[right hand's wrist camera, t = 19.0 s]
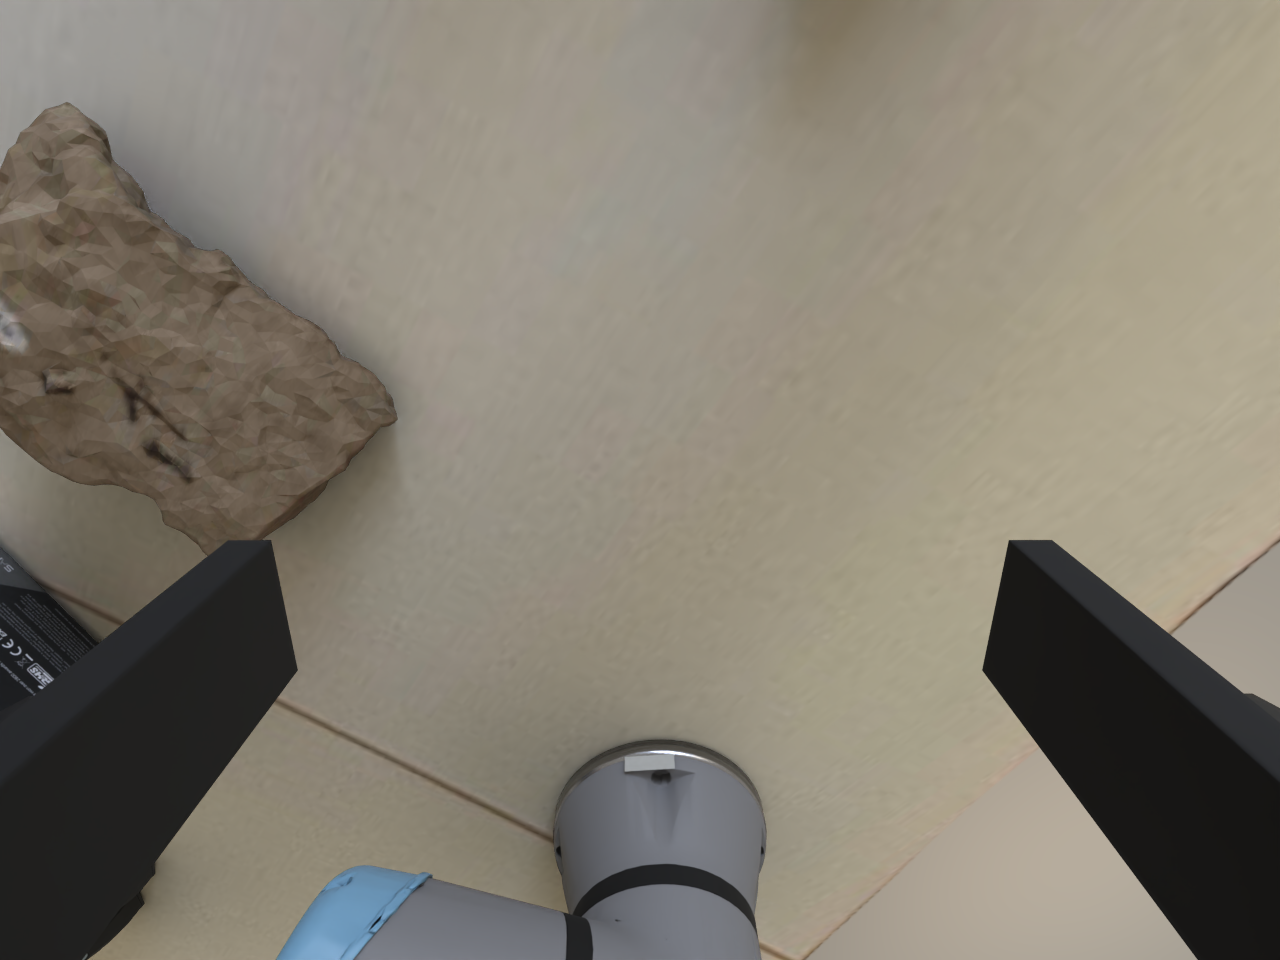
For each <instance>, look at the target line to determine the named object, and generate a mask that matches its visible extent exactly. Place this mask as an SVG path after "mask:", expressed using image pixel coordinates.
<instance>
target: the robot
mask: <svg viewBox="0 0 1280 960" xmlns="http://www.w3.org/2000/svg"><path fill="white" fill-rule="evenodd" d="M154 874H155V866H154V864H153V865H152V867H151V868H150V869H149V871H148V872H147V873H146V875H145V876H144V877H143V879H142V880H141V881H140V883H139V884H138V885H137V887H136V888H135V890H134V891H133V892H132V894H131V895H130V896H129V898H128V899H127V900H126V902H125V903H124V904H123V906H122V907H121V908H120V910H119V911H118V912H117V914H116V915H115V916H114V918H113V919H112V920H111V922H110V923H109V924H108V926H107V927H106V928H105V930H104V931H103V933H102V934H101V935H100V937H99V938H98V939H97V941H96V942H95V943H94V945H93V946H92V947H91V949H90V950H89V951H88V953H87V954H86V955H85V957H84V958H83V959H82V960H87V959H89V958H90V957H91V956H93V955H94V954H95V953H97V952H98V951H99V950H100V949H102V948H103V947H104V946H105V945H106V944H108V943H109V942H110V941H111V940H112V939H113V938H114V937H115V936H116V935H117V934H118V933H119V932H120V931H121V930H122V929H123V928H124V927H125V926H126V925H127V924H128V923H129V922H130V921H131V919H132V917H133V916H134V915H135V914H136V913H137V912H138V910H139V909H140V908H141V907H142V906H143V905H144V901H143V899H142V897H141V895H140V894H139V892H140V891H141V890H142V889H143V887H144V886H145V885H146V883H147V882H148V881H149V880H150V878H151V877H152V876H154Z"/></svg>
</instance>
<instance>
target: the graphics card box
mask: <svg viewBox="0 0 1280 960" xmlns="http://www.w3.org/2000/svg"><path fill="white" fill-rule="evenodd" d="M96 645H98V643H97V642H96V641H95V640H94V639H93V638H92V637H91V636H90V635H89V634H88V633H87V632H86V631H85V630H84V629H83V628H82V627H81V626H80V625H79V624H78V623H77V622H76V621H75V620H74V619H73V618H72V617H71V616H70V615H68V614H67V613H66V612H65V611H64V610H63V608H62V607H61V606H60V605H58V604H57V602H56V601H55V600H54V599H52V598H51V597H50V596H49V595H48V594H47V593H46V592H45V590H44V589H42V587H41V586H39V585H38V584H37V583H36V582H35V581H34V580H33V579H32V578H31V577H30V576H29V575H28V574H27V573H26V572H25V571H24V570H23V569H22V568H21V567H20V566H19V565H18V564H17V563H16V562H15V561H14V560H13V559H12V558H11V557H10V556H9V555H8V554H7V553H6V552H4V551H3V550H2V548H1V547H0V711H2V710H3V709H5V708H7V707H9V706H11V705H13V704H15V703H17V702H19V701H20V700H22V699H24V698H26V697H28V696H34V695H35V694H37V693H38V692H39V691H40V690H42V689H43V688H44V687H45V686H47V685H48V684H49V683H50V682H52V681H53V680H54V679H55V678H57V677H58V676H59V675H60V674H61V673H63V672H64V671H65V670H66V669H68V668H69V667H70V666H71V665H73V664H74V663H75V662H76V661H78V660H79V659H80V658H81V657H83V656H84V655H85V654H86V653H88V652H89V651H90V650H91V649H93V648H94V647H95V646H96Z"/></svg>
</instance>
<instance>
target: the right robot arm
mask: <svg viewBox="0 0 1280 960" xmlns="http://www.w3.org/2000/svg"><path fill="white" fill-rule="evenodd" d="M297 671H298V669H297V665H296V660H295V655H294V650H293V645H292V640H291V635H290V630H289V625H288V621H287V616H286V611H285V606H284V601H283V596H282V591H281V586H280V582H279V577H278V572H277V567H276V562H275V557H274V552H273V547H272V543H271V540H228V541H226V542H225V543H224V544H223V545H221V546H220V547H219V548H218V549H216V550H215V551H214V552H213V553H211V554H210V555H209V556H208V557H206V558H205V559H204V560H203V561H201V562H200V563H199V564H198V565H196V566H195V567H194V568H193V569H191V570H190V571H189V572H188V573H186V574H185V575H184V576H183V577H181V578H180V579H179V580H178V581H176V582H175V583H174V584H173V585H171V586H170V587H169V588H168V589H166V590H165V591H164V592H163V593H161V594H160V595H159V596H158V597H156V598H155V599H154V600H153V601H151V602H150V603H149V604H148V605H146V606H145V607H144V608H143V609H141V610H140V611H139V612H138V613H136V614H135V615H134V616H133V617H131V618H130V619H129V620H128V621H126V622H125V623H124V624H123V625H121V626H120V627H119V628H118V629H116V630H115V631H114V632H113V633H111V634H110V635H109V636H108V637H106V638H105V639H104V640H103V641H101V642H100V643H99V644H98V645H96V646H95V647H94V648H93V649H91V650H90V651H89V652H88V653H86V654H85V655H84V656H83V657H81V658H80V659H79V660H78V661H76V662H75V663H74V664H73V665H71V666H70V667H69V668H68V669H66V670H65V671H64V672H63V673H61V674H60V675H59V676H58V677H57V678H55V679H54V680H53V681H52V682H50V683H49V684H48V685H47V686H45V687H44V688H43V689H42V690H40V691H39V692H38V693H37V694H35V695H34V696H28V697H26V698H24V699H22V700H20V701H19V702H17V703H15V704H13V705H11V706H9V707H7V708H5V709H3V710H2V711H0V960H82V959H83V958H84V957H85V955H86V954H87V953H88V951H89V950H90V949H91V947H92V946H93V945H94V943H95V942H96V941H97V939H98V938H99V937H100V935H101V934H102V933H103V931H104V930H105V928H106V927H107V926H108V924H109V923H110V922H111V920H112V919H113V918H114V916H115V915H116V914H117V912H118V911H119V910H120V908H121V907H122V906H123V904H124V903H125V902H126V900H127V899H128V898H129V896H130V895H131V894H132V892H133V891H134V890H135V888H136V887H137V885H138V884H139V883H140V881H141V880H142V879H143V877H144V876H145V875H146V873H147V872H148V871H149V869H150V868H151V867H152V865H153V864H154V863H155V861H156V860H157V859H158V857H159V856H160V855H161V853H162V852H163V851H164V849H165V848H166V847H167V845H168V844H169V842H170V841H171V840H172V838H173V837H174V836H175V834H176V833H177V832H178V830H179V829H180V828H181V826H182V825H183V824H184V822H185V821H186V820H187V818H188V817H189V816H190V814H191V813H192V812H193V810H194V809H195V808H196V806H197V805H198V804H199V802H200V801H201V800H202V798H203V797H204V795H205V794H206V793H207V791H208V790H209V789H210V787H211V786H212V785H213V783H214V782H215V781H216V779H217V778H218V777H219V775H220V774H221V773H222V771H223V770H224V769H225V767H226V766H227V765H228V763H229V762H230V761H231V759H232V758H233V757H234V755H235V754H236V752H237V751H238V750H239V748H240V747H241V746H242V744H243V743H244V742H245V740H246V739H247V738H248V736H249V735H250V734H251V732H252V731H253V730H254V728H255V727H256V726H257V724H258V723H259V722H260V720H261V719H262V718H263V716H264V715H265V714H266V712H267V711H268V709H269V708H270V707H271V705H272V704H273V703H274V701H275V700H276V699H277V697H278V696H279V695H280V693H281V692H282V691H283V689H284V688H285V687H286V685H287V684H288V683H289V681H290V680H291V679H292V677H293V676H294V675H295V673H296V672H297ZM982 671H983V672H984V673H985V675H986V676H987V677H988V679H989V680H990V681H991V683H992V684H993V685H994V687H995V688H996V689H997V691H998V692H999V693H1000V695H1001V696H1002V697H1003V699H1004V700H1005V701H1006V703H1007V704H1008V705H1009V707H1010V708H1011V709H1012V711H1013V712H1014V714H1015V715H1016V716H1017V718H1018V719H1019V720H1020V722H1021V723H1022V724H1023V726H1024V727H1025V728H1026V730H1027V731H1028V732H1029V734H1030V735H1031V736H1032V738H1033V739H1034V740H1035V742H1036V743H1037V744H1038V746H1039V747H1040V748H1041V750H1042V751H1043V752H1044V754H1045V755H1046V756H1047V758H1048V759H1049V761H1050V762H1051V763H1052V765H1053V766H1054V767H1055V769H1056V770H1057V771H1058V773H1059V774H1060V775H1061V777H1062V778H1063V779H1064V781H1065V782H1066V783H1067V785H1068V786H1069V787H1070V789H1071V790H1072V791H1073V793H1074V794H1075V795H1076V797H1077V798H1078V799H1079V801H1080V802H1081V804H1082V805H1083V806H1084V808H1085V809H1086V810H1087V812H1088V813H1089V814H1090V816H1091V817H1092V818H1093V820H1094V821H1095V822H1096V824H1097V825H1098V826H1099V828H1100V829H1101V830H1102V832H1103V833H1104V834H1105V836H1106V837H1107V838H1108V840H1109V841H1110V843H1111V844H1112V845H1113V847H1114V848H1115V849H1116V851H1117V852H1118V853H1119V855H1120V856H1121V857H1122V859H1123V860H1124V861H1125V863H1126V864H1127V865H1128V867H1129V868H1130V869H1131V871H1132V872H1133V873H1134V875H1135V876H1136V877H1137V879H1138V880H1139V881H1140V883H1141V884H1142V885H1143V887H1144V888H1145V889H1146V891H1147V892H1148V894H1149V895H1150V896H1151V898H1152V899H1153V900H1154V902H1155V903H1156V904H1157V906H1158V907H1159V908H1160V910H1161V911H1162V912H1163V914H1164V915H1165V916H1166V918H1167V919H1168V920H1169V922H1170V923H1171V924H1172V926H1173V927H1174V928H1175V930H1176V931H1177V933H1178V934H1179V935H1180V936H1181V938H1182V939H1183V941H1184V942H1185V943H1186V945H1187V946H1188V947H1189V949H1190V950H1191V951H1192V953H1193V954H1194V955H1195V957H1196V958H1197V959H1198V960H1280V708H1278V707H1277V706H1275V705H1273V704H1271V703H1269V702H1267V701H1265V700H1263V699H1261V698H1260V697H1258V696H1256V695H1254V694H1243V693H1242V692H1241V691H1240V690H1238V689H1237V688H1236V687H1235V686H1233V685H1232V684H1231V683H1230V682H1228V681H1227V680H1226V679H1225V678H1223V677H1222V676H1221V675H1220V674H1218V673H1217V672H1216V671H1215V670H1214V669H1212V668H1211V667H1210V666H1209V665H1207V664H1206V663H1205V662H1203V661H1202V660H1201V659H1200V658H1198V657H1197V656H1196V655H1195V654H1193V653H1192V652H1191V651H1190V650H1188V649H1187V648H1186V647H1185V646H1184V645H1182V644H1181V643H1180V642H1179V641H1177V640H1176V639H1175V638H1173V637H1172V636H1171V635H1170V634H1169V633H1167V632H1166V631H1165V630H1164V629H1162V628H1161V627H1160V626H1159V625H1157V624H1156V623H1155V622H1154V621H1152V620H1151V619H1150V618H1149V617H1147V616H1146V615H1145V614H1144V613H1142V612H1141V611H1140V610H1139V609H1137V608H1136V607H1135V606H1134V605H1132V604H1131V603H1130V602H1129V601H1127V600H1126V599H1125V598H1124V597H1122V596H1121V595H1120V594H1119V593H1117V592H1116V591H1115V590H1114V589H1112V588H1111V587H1110V586H1109V585H1107V584H1106V583H1105V582H1104V581H1102V580H1101V579H1100V578H1099V577H1097V576H1096V575H1095V574H1094V573H1092V572H1091V571H1090V570H1089V569H1087V568H1086V567H1085V566H1084V565H1082V564H1081V563H1080V562H1079V561H1077V560H1076V559H1075V558H1074V557H1072V556H1071V555H1070V554H1069V553H1067V552H1066V551H1065V550H1064V549H1062V548H1061V547H1060V546H1059V545H1057V544H1056V543H1055V542H1054V541H1052V540H1009V543H1008V547H1007V552H1006V557H1005V562H1004V567H1003V572H1002V577H1001V582H1000V586H999V591H998V596H997V601H996V606H995V611H994V616H993V621H992V625H991V630H990V635H989V640H988V645H987V650H986V655H985V660H984V665H983V669H982ZM553 841H554V851H555V857H556V861H557V865H558V868H559V871H560V873H561V875H562V884H563V889H564V894H565V899H566V903H567V907H568V911H569V914H567V913H563V912H560V911H556V910H553V909H549V908H545V907H541V906H537V905H533V904H529V903H525V902H522V901H518V900H514V899H510V898H506V897H502V896H498V895H494V894H491V893H487V892H483V891H479V890H475V889H471V888H467V887H463V886H459V885H456V884H452V883H448V882H444V881H440V880H436V879H432V877H433V875H432V874H430V873H426V872H422V873H420V874H418V875H416V874H411V873H406V872H400V871H395V870H390V869H385V868H380V867H375V866H366V865H363V866H356V867H353V868H350V869H348V870H346V871H344V872H342V873H341V874H339V875H337V876H336V877H335V878H334V879H333V880H332V881H330V882H329V883H328V884H327V885H326V886H325V887H324V889H323V890H322V891H321V892H320V893H319V895H318V896H317V897H316V899H315V900H314V901H313V903H312V904H311V905H310V907H309V908H308V910H307V911H306V912H305V914H304V915H303V917H302V918H301V920H300V921H299V923H298V924H297V926H296V927H295V929H294V931H293V932H292V934H291V936H290V937H289V939H288V940H287V942H286V944H285V945H284V947H283V949H282V950H281V952H280V954H279V955H278V957H277V959H276V960H762V959H761V953H760V947H759V942H758V936H757V929H756V923H755V917H754V912H755V907H756V900H757V892H758V877H759V873H760V871H761V868H762V865H763V861H764V857H765V851H766V824H765V819H764V814H763V809H762V805H761V800H760V798H759V795H758V792H757V791H756V789H755V787H754V785H753V783H752V782H751V781H750V779H749V778H748V777H747V775H746V774H745V773H744V772H743V771H742V770H741V769H740V768H739V767H738V766H737V765H735V764H734V763H733V762H731V761H730V760H729V759H727V758H725V757H724V756H722V755H720V754H718V753H716V752H714V751H712V750H710V749H707V748H705V747H702V746H699V745H695V744H692V743H687V742H682V741H674V740H647V741H639V742H634V743H629V744H625V745H622V746H618V747H616V748H613V749H610V750H608V751H606V752H604V753H602V754H600V755H598V756H596V757H595V758H593V759H591V760H590V761H589V762H587V763H586V764H585V765H583V766H582V767H581V768H580V769H579V770H578V771H577V772H576V773H575V774H574V775H573V776H572V777H571V779H570V780H569V781H568V783H567V784H566V786H565V788H564V789H563V791H562V793H561V796H560V798H559V801H558V804H557V809H556V816H555V823H554V830H553Z"/></svg>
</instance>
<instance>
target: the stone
mask: <svg viewBox="0 0 1280 960" xmlns="http://www.w3.org/2000/svg"><path fill="white" fill-rule="evenodd" d="M396 420H397V413H396V411H395V409H394V404H393V399H392V397H391V395H390V394H388V393H387V392H386V389H385V386H384V385H383V384H382V383H381V382H380V381H379V380H378V378H377V377H376V376H375V375H374V374H373V373H372V372H371V371H369V370H367V369H366V368H364V367H363V366H361V365H360V364H359V363H358V362H355V361H353V360H351V359H348V358H346V357H343V356H342V355H340V353H339V351H338V349H337V347H336V345H335V344H334V343H333V342H332V341H331V340H330V339H329V338H328V336H327V335H326V333H325V332H324V330H323V329H322V328H320V327H318V326H317V325H315V324H314V323H312V322H310V321H309V320H307V319H304V318H301V317H299V316H296V315H295V314H293V313H292V312H291V311H289V310H288V309H286V308H285V307H284V306H282V305H280V304H279V303H277V302H276V301H274V300H271V299H270V298H269V297H268V295H267V294H266V293H265V291H264V290H262V289H261V288H259V287H257V286H256V285H254V284H252V283H251V282H250V281H249V280H248V279H247V278H246V276H245V275H244V274H243V273H242V272H241V271H240V270H239V269H238V268H237V267H236V265H235V264H234V263H233V261H232V260H231V258H230V257H229V256H228V255H226V254H225V253H223V252H222V251H220V250H213V251H205V250H202V249H198V248H195V247H194V245H193V244H192V243H191V241H190V240H189V239H188V238H186V237H184V236H183V235H181V234H179V233H177V232H175V231H173V230H172V229H171V228H170V227H169V226H168V225H167V224H166V223H165V221H164V219H162V218H161V217H159V216H158V215H156V214H154V213H152V212H150V210H149V207H148V205H147V202H146V199H145V197H144V193H143V191H142V189H141V188H140V187H139V185H138V184H137V183H136V181H135V180H134V179H133V177H132V176H131V175H130V174H128V173H127V172H126V171H125V170H124V169H122V168H121V167H120V166H119V165H117V164H116V163H115V161H114V160H113V158H112V155H111V150H110V145H109V142H108V138H107V135H106V132H105V131H104V130H103V129H102V128H101V127H100V126H99V125H98V124H97V123H95V122H94V121H92V120H91V119H89V118H88V117H86V116H85V115H83V114H82V113H81V112H80V110H79V109H78V108H76V107H75V106H73V105H72V104H70V103H67V102H66V103H64V104H62V105H59V106H56V107H52V108H49V109H45V110H44V111H43V112H42V113H41V114H40V115H39V116H38V117H37V118H36V119H35V121H34V122H33V123H32V124H31V125H30V126H29V127H28V128H27V129H25V130H23V131H22V132H20V135H19V137H18V139H17V142H16V144H15V145H14V146H12V147H11V148H10V149H9V150H8V152H7V154H6V157H5V159H4V162H3V165H2V166H1V168H0V428H1V429H2V430H3V431H4V433H5V434H6V435H7V436H8V437H9V438H10V439H12V440H13V441H14V442H15V443H16V444H17V445H18V446H19V447H21V448H22V449H23V450H24V451H25V452H27V453H28V454H29V455H30V456H31V457H33V458H34V459H35V460H36V461H38V462H39V463H40V464H42V465H43V466H44V467H46V468H47V469H49V470H50V471H52V472H55V473H57V474H59V475H61V476H63V477H65V478H67V479H69V480H71V481H73V482H77V483H80V484H86V485H94V486H95V485H101V484H112V485H117V486H122V487H124V488H126V489H128V490H130V491H132V492H136V493H141V494H145V495H147V496H149V497H151V498H153V499H154V500H155V501H156V503H157V505H158V507H159V508H160V510H161V512H162V515H163V522H164V523H165V525H167V526H170V527H172V528H174V529H177V530H179V531H181V532H183V533H184V534H186V535H187V536H188V537H189V538H191V539H192V540H193V541H194V542H196V543H197V544H198V545H199V546H200V548H201V549H202V551H203V552H204V553H205V554H206V555H207V556H209V555H210V554H211V553H213V552H214V551H215V550H216V549H218V548H219V547H220V546H221V545H223V544H224V543H225V542H226V541H228V540H262V539H263V538H264V537H265V536H267V535H268V534H270V533H271V532H273V531H274V530H276V529H277V528H279V527H280V526H282V525H283V524H285V523H286V522H287V521H289V520H291V519H293V518H294V517H295V516H297V515H298V514H299V513H300V512H301V511H302V510H303V509H304V508H305V507H306V506H307V505H308V504H309V503H311V502H313V501H314V500H315V499H316V498H317V497H318V496H319V495H320V494H321V493H322V492H323V491H324V490H325V487H326V485H327V482H328V480H329V479H331V478H332V477H334V476H336V475H338V474H339V473H341V472H343V471H345V469H346V467H347V466H348V465H349V462H350V460H351V459H352V458H353V457H354V456H355V455H356V454H357V453H358V452H359V451H361V450H362V449H363V448H364V446H365V444H366V442H367V441H368V440H369V439H370V438H372V437H373V435H374V434H375V433H376V432H377V431H378V430H379V428H380V427H385V426H390V425H391V424H393V423H395V422H396Z"/></svg>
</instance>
